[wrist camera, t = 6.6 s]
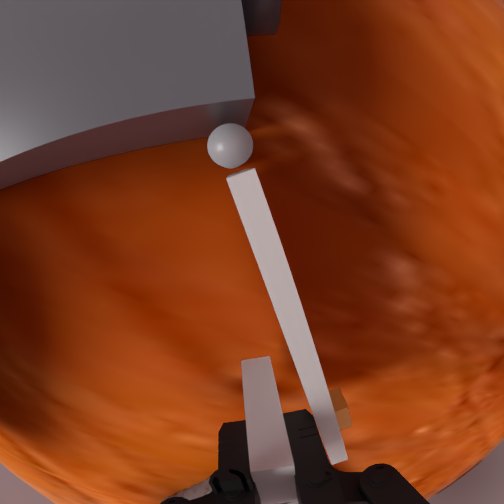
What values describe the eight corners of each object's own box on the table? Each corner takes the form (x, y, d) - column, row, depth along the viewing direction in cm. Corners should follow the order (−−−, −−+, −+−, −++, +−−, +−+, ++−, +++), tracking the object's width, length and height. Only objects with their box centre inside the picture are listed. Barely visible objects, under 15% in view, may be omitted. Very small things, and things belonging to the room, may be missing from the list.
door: (304, 393, 17) (327, 466, 12) (213, 147, 13) (201, 132, 8) (332, 382, 17) (364, 452, 11) (251, 134, 13) (265, 110, 8)
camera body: (-19, 51, 10) (-95, 28, 3) (251, -37, 11) (265, -133, 3) (-19, 196, 13) (-111, 221, 6) (277, 128, 13) (326, 88, 6)
